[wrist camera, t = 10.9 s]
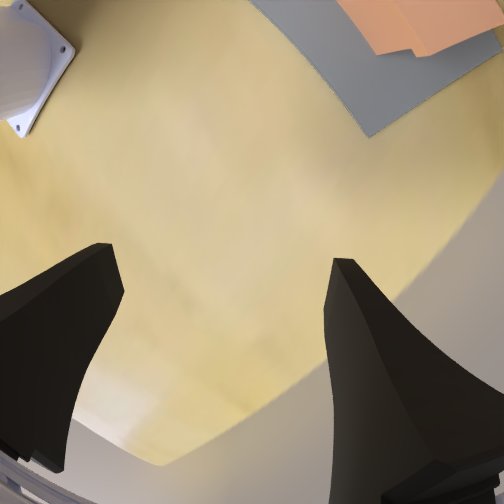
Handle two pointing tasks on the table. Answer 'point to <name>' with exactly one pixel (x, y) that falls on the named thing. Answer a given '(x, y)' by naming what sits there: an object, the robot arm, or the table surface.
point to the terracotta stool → (421, 22)
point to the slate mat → (371, 61)
